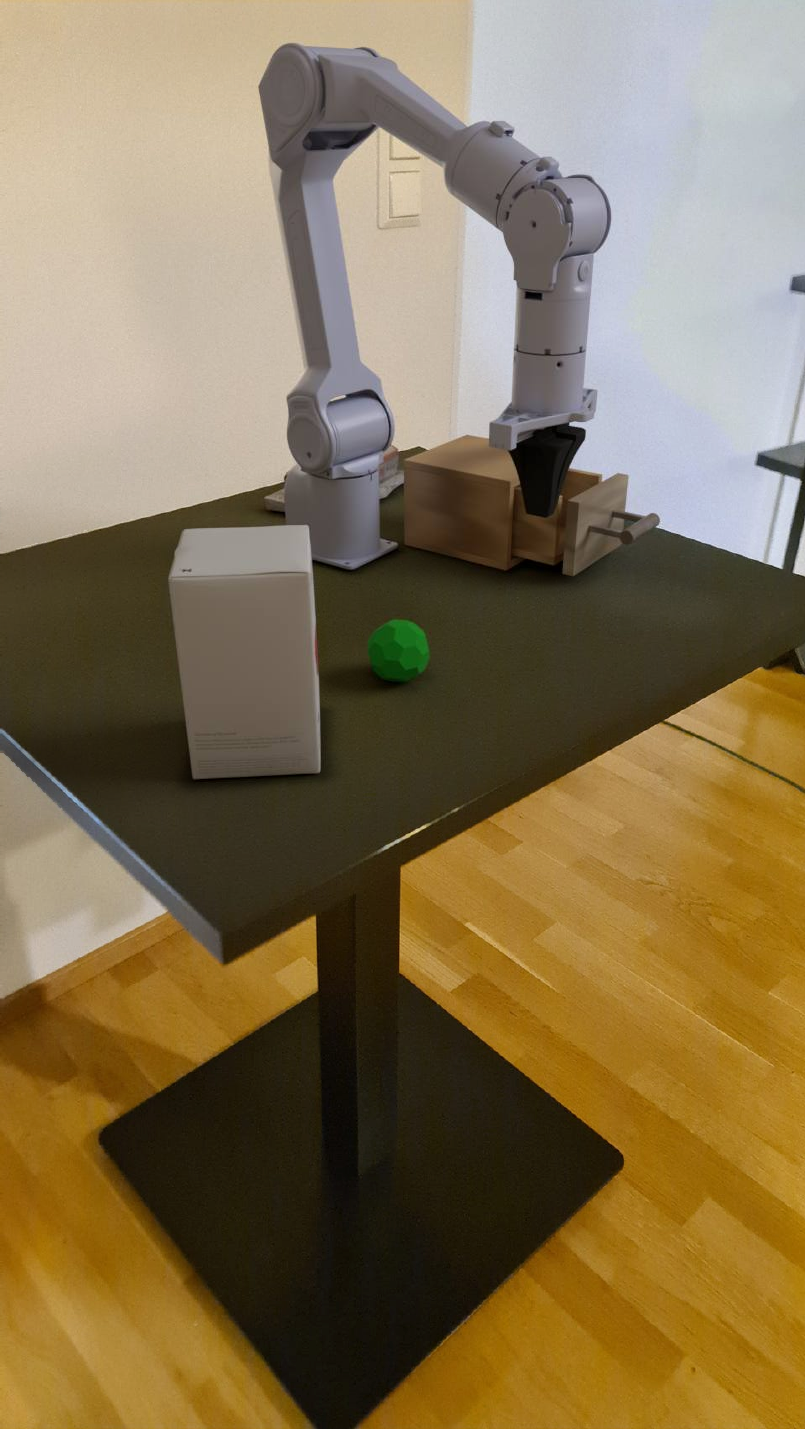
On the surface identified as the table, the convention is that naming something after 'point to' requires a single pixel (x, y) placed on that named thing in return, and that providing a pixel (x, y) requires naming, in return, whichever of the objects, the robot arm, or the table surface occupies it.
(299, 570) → the rectangular carton
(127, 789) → the table surface
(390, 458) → the packaged product
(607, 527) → the drawer
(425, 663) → the polyhedron
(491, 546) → the cabinet
